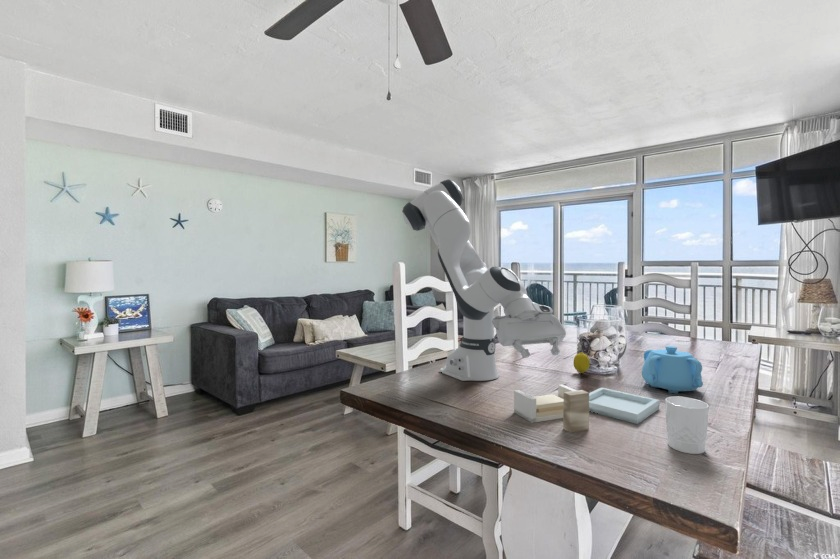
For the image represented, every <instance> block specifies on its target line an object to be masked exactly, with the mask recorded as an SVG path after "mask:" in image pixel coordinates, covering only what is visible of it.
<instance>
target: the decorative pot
mask: <svg viewBox="0 0 840 559" xmlns="http://www.w3.org/2000/svg"><path fill="white" fill-rule="evenodd" d="M643 360H644V363H643V365H642V371H641V376H642V379H643V380H644V381H645V383H646V384H648V385H650V387H651V388H656V389H657V388H659V389H663V390H668V393H671V394H679V392H692V391H695V390H697V389H698V388H702V387H703V385H704V383H703V377H702V371H703V365H702V363H701V362H700V360H699V359H697V358H695V357H694V355H693V354H692V353H690V352H687V351H679V350H678V347H676V346H672V345H666V346H665V349H655V350H654V349H648V350H647V349H646V351H644V353H643Z"/></svg>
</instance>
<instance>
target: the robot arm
mask: <svg viewBox="0 0 840 559" xmlns="http://www.w3.org/2000/svg"><path fill="white" fill-rule="evenodd" d="M463 200H464V199H463V193H462V189H461V188H460V186H459V185H458V184H457V182H455V181H453V179H450V178H449V179H446V180H442V181H440V182H439V183H438V184H435V185H433V186H431V187H429V188H428V189H426V190H424V191H423V192H422V193H420V194H419V195H417V196H416V197H415V198H414V199H412V200H411V201H408V202H407V203H406V204H405V205H404V206H403V207H402V216H403V220H404V222H405V224H406V225H407V227H409V228H411V229H412V230H413V231H416V232H418V231H421V230H424V229H425V228H426V227H427V228H428V231H429V234H430V236H431V238H432V240H433V242H434V244H435V245H436V247H437V249H438V250H437V256H438V259H439V262H440V265H441V267H442V270H443V272H444V274H445V277H446V279H447V281H448V283H449V286H450V287H451V289H452V292H453V294H454V298H455V301H456V305H457V308H458V310H459V312H460V313H461V315H462V316H463V319H462V320H463V323H462V324H463V325H462V326H463V336H461V337H459V338H457V342H460V344H459V346H458V347H457V348H455V350H453V351H452V352H450V353H449V354H448V355H447V357H446V361H445V362H446V363H445V366H443V367H441V368H439V373H441V372H442V373H441V374H443V375H446V376H449V377H452V378H454V379H456V380H459V381H462V382H463V381H464V382H465V381H475V382H479V381H480V382H482V381H483V382H485V381H486V382H487V381H492V380H496V379H498V378H499V376H500V375H499V371H498V368H497V361H496V337H495V332H496V336H497V340H498V343H499V345H501V346H502V347H512V346H513V348H514V349H515V350H516V351H517V352H518V353H519V354H520V355H521V357H522V358H526V359H527V358H529V357H530V356H531V353H530V352H529V351H530V350H529V349H528V348H525V347H524V346H525V345H539V344H549V345H550V346H552V348H551V349H550V353H551V355H552V356H559V354H560V352H561V351H560V349H559V343H561V342H562V341H563V340H564V338H566V335H567V332H566V329H565V328H564V326H563V324H562V323H561V321H560V319H559V318H558V317H557V316H556V315H555V314H553V312H554V310H553V308H552V307H550V306H547V305H543V304H539V303H536V302H535V301H534V302H533V300H532V299H531V298H530V297H529V295H528V292H527V289H526V287H525V285H524V284H523V282H522V281H521V279H520V278H519V277H518V275H517V274H516V273H515V272H514V271H513V270H512V269H509V268H505V267H501V266H491V267H490V268H488V266H486V264H485V262H484V261H483V260H482V258H481V257H480V255H479V253H478V252H477V251H476V249H475V247H474V246H473V245H472V243H471V241H470V240H469V239H470V237H471V231H472V225H471V221H470V220H469V218H468V216H467V214H466V213H465V212H464V210H463V209H462V208H461V205H462V202H463ZM499 304H500V305H501V306H502V308H503V312H504V315H502V316H500V315H496V316H495V309H494V308H496V307H497V306H498V305H499Z"/></svg>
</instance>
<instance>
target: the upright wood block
mask: <svg viewBox="0 0 840 559" xmlns="http://www.w3.org/2000/svg"><path fill="white" fill-rule="evenodd" d="M589 393H590V392H588V391H586V390H584V389H579V390H577V391H570V392H564V403H563V418H562V419H563V421H562V422H563V425H562V426H563V430H565V431H567V432H568V433H570V434H571V433H577V432H583V431H588V429H589V430H590V411H589Z"/></svg>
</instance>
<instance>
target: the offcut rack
mask: <svg viewBox="0 0 840 559" xmlns="http://www.w3.org/2000/svg"><path fill="white" fill-rule="evenodd" d="M557 385H558V386H557V387H558V389H557V390H558V391H557V392H558V393H557V395H555V394H545V395H538V396H531V395H530V394H528V393H526V392H524V391H522V390H519V389H515V390H513V412H514V414H516V415H518V416H520V418H521V417H522V418H523V419H524V420H526V421H527V422H529V423H531V424H534V423H538V422H540V423H541V422H545V421H546V422H547V421H551V420H559V419H563V403H564V392H570V391H578V390H577V389H574V388H572V387H570V386H567V385H565V384H557Z"/></svg>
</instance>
